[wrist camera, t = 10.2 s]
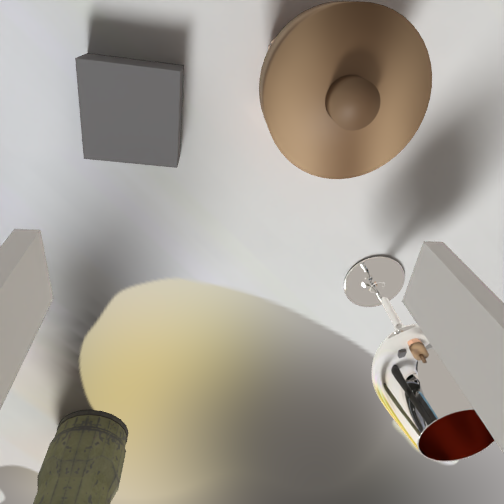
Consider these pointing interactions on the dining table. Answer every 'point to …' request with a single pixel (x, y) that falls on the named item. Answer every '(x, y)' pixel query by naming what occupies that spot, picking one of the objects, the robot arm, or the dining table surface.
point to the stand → (130, 109)
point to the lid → (345, 88)
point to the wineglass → (415, 373)
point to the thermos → (83, 460)
